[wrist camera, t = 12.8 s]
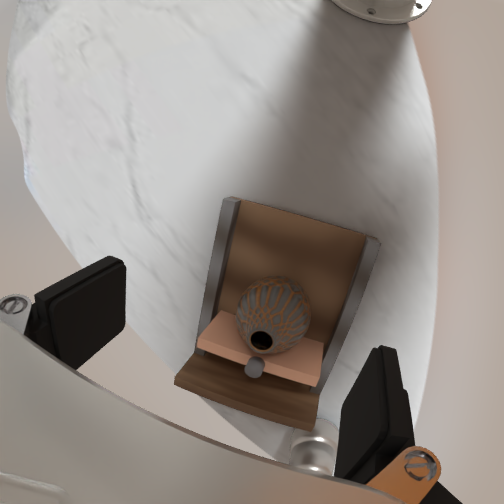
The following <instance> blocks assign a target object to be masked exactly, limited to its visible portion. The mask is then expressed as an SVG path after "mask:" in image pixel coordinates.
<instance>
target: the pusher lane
mask: <svg viewBox="0 0 504 504" xmlns="http://www.w3.org/2000/svg"><path fill="white" fill-rule="evenodd" d="M380 245H381V244H380V243H379V241H378V239H377V238H374V237H371V236H368V235H364V234H361V233H358V232H355V231H352V230H348V229H345V228H342V227H339V226H335V225H332V224H329V223H325V222H322V221H318V220H315V219H312V218H308V217H305V216H301V215H298V214H294V213H291V212H287V211H284V210H280V209H276V208H273V207H269V206H265V205H262V204H258V203H254V202H251V201H247V200H243V199H239V198H235V197H229V198H225V199H223V202H222V207H221V212H220V217H219V222H218V226H217V231H216V236H215V241H214V246H213V251H212V257H211V262H210V267H209V272H208V277H207V283H206V288H205V293H204V299H203V304H202V310H201V316H200V321H199V327H198V333H197V339H196V345H195V351H194V353H193V355H192V356H191V357H190V358H189V360H188V361H187V362H186V363H185V365H184V366H183V367H182V368H181V370H180V371H179V372H178V373H177V375H176V376H175V380H174V385H176V386H178V387H181V388H183V389H185V390H188V391H190V392H193V393H195V394H197V395H200V396H202V397H205V398H207V399H210V400H213V401H215V402H218V403H220V404H223V405H226V406H229V407H231V408H234V409H237V410H240V411H243V412H245V413H248V414H251V415H254V416H257V417H261V418H264V419H267V420H270V421H273V422H276V423H280V424H283V425H287V426H290V427H294V428H297V429H301V430H305V431H308V432H312V430H313V428H314V426H315V423H316V416H317V409H318V402H319V395H320V393H321V391H322V389H323V387H324V384H325V382H326V380H327V378H328V376H329V374H330V372H331V370H332V367H333V365H334V363H335V361H336V359H337V356H338V354H339V352H340V350H341V347H342V345H343V343H344V340H345V338H346V336H347V333H348V331H349V329H350V326H351V324H352V321H353V319H354V316H355V314H356V311H357V309H358V306H359V304H360V301H361V298H362V296H363V293H364V291H365V288H366V285H367V282H368V280H369V277H370V274H371V271H372V268H373V266H374V263H375V260H376V257H377V254H378V251H379V248H380ZM267 276H284V277H287V278H290V279H292V280H294V281H295V282H297V283H298V284H299V285H300V286H301V287H302V288H303V289H304V291H305V292H306V294H307V296H308V298H309V301H310V305H311V320H310V324H309V327H308V330H307V332H306V334H305V335H304V337H305V338H308V339H312V340H315V341H318V342H322V343H324V347H323V356H322V364H321V372H320V378H319V380H318V383H317V385H316V387H314V386H310V385H307V384H303V383H300V382H296V381H293V380H290V379H286V378H283V377H280V376H277V375H274V374H271V373H267V372H264V371H263V372H262V374H261V376H260V377H258V378H252V377H249V376H248V375H247V374H246V373H245V366H246V365H244V364H241V363H238V362H235V361H232V360H230V359H227V358H224V357H221V356H219V355H216V354H213V353H211V352H208V351H205V350H203V349H200V348H198V347H197V342H198V337H199V336H200V335H201V333H202V332H203V331H204V330H205V329H206V327H207V326H208V325H209V324H210V323H211V321H212V320H213V319H214V318H215V317H216V315H217V314H218V313H219V312H220V311H221V310H222V311H225V312H228V313H231V314H234V315H236V309H237V305H238V302H239V300H240V298H241V296H242V294H243V293H244V291H245V290H246V289H247V288H248V287H249V286H250V285H251V284H252V283H254V282H255V281H257V280H259V279H261V278H264V277H267Z"/></svg>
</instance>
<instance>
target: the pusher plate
mask: <svg viewBox="0 0 504 504" xmlns="http://www.w3.org/2000/svg"><path fill="white" fill-rule="evenodd" d="M197 347H198V348H200V349H203V350H205V351H208V352H211V353H213V354H216V355H219V356H221V357H224V358H227V359H230V360H232V361H235V362H238V363H241V364H244V365H246V366H245V373H246V374H247V375H248V376H249V377H252V378H258V377H260V376H261V374H262V372H263V371H264V372H267V373H271V374H274V375H277V376H280V377H283V378H286V379H290V380H293V381H296V382H300V383H303V384H307V385H310V386H314V387H316V385H317V383H318V380H319V378H320V372H321V364H322V356H323V347H324V343H322V342H318V341H315V340H312V339H308V338H305V337H303V338H302V339H301V340H300V341H299V342H298V343H297V344H296V345H295V346H294V347H292V348H291V349H289V350H287V351H284V352H281V353H275V354H269V353H266V354H261V353H257V352H255V351H253V350H252V349H251V348H250V347H249V345H248V344H247V343H246V342H245V341H244V340H243V339H242V337H241V335H240V334H239V331H238V329H237V325H236V315H234V314H231V313H228V312H225V311H222V310H221V311H220V312H219V313H218V314H217V315H216V317H215V318H214V319H213V320H212V321H211V323H210V324H209V325H208V326H207V327H206V329H205V330H204V331H203V332H202V333H201V335H200V336H199V337H198V342H197Z"/></svg>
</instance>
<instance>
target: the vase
mask: <svg viewBox="0 0 504 504" xmlns="http://www.w3.org/2000/svg"><path fill="white" fill-rule="evenodd" d="M310 320H311V305H310V301H309V298H308V296H307V294H306V292H305V291H304V289H303V288H302V287H301V286H300V285H299V284H298V283H297V282H295V281H294V280H292V279H290V278H287V277H284V276H267V277H264V278H261V279H259V280H257V281H255V282H254V283H252V284H251V285H250V286H249V287H248V288H247V289H246V290H245V291H244V293H243V294H242V296H241V298H240V300H239V302H238V305H237V309H236V325H237V329H238V331H239V334H240V335H241V337H242V339H243V340H244V341H245V342H246V343H247V344H248V345H249V347H250V348H251V349H252V350H253V351H255V352H257V353H261V354H266V353H269V354H275V353H281V352H284V351H287V350H289V349H291V348H292V347H294V346H295V345H296V344H297V343H298V342H299V341H300V340H301V339H302V338H303V337H304V335H305V334H306V332H307V330H308V327H309V324H310Z"/></svg>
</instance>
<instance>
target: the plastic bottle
mask: <svg viewBox="0 0 504 504" xmlns="http://www.w3.org/2000/svg"><path fill="white" fill-rule="evenodd" d="M338 439H339V431H338V429H337V427H336V426H335V425H334V424H333V423H331V422H330V421H328V420H325V419H321V418H316V423H315V426H314V428H313V430H312V432H308V431H305V430H301V429H297V428H295V430H294V432H293V434H292V436H291V440H290V461H289V465H291V466H294V467H298V468H302V469H306V470H310V471H314V472H318V473H322V474H326V475H330V476H332V473H333V469H334V464H335V459H336V456H337V448H338Z"/></svg>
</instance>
